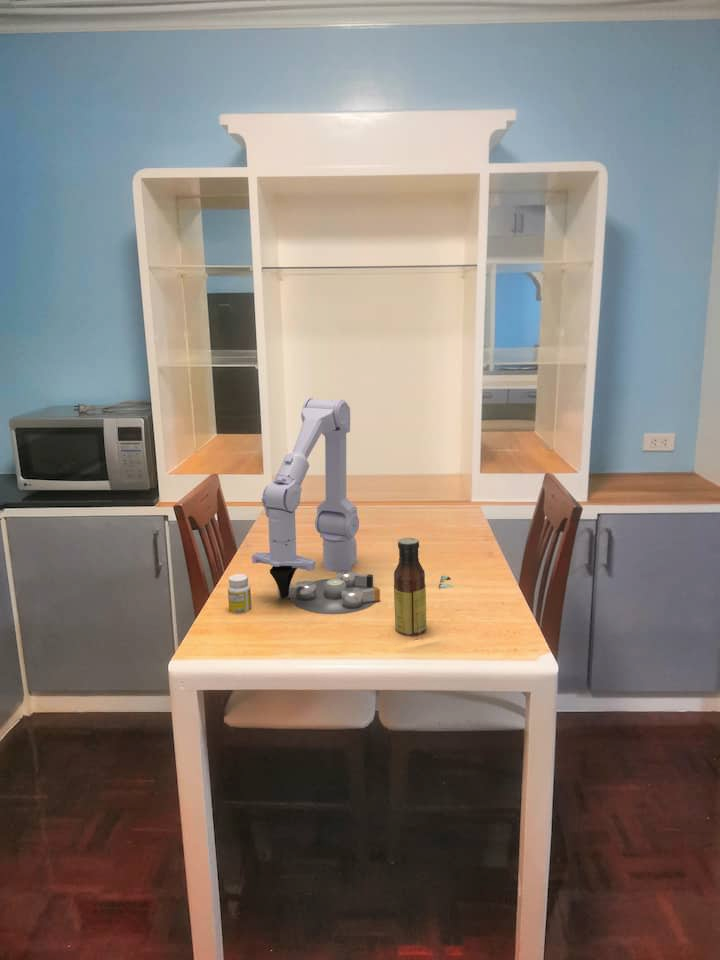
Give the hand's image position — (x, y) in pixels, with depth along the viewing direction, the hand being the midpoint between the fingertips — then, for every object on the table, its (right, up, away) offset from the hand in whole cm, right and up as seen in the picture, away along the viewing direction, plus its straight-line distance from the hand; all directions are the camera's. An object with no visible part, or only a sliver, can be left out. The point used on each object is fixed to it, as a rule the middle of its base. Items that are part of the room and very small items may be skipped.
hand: (284, 597), depth 144 cm
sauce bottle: (+27, -5, -13) cm, 30 cm away
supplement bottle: (-9, -3, -3) cm, 10 cm away
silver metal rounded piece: (+3, 0, +3) cm, 4 cm away
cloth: (+31, +1, +17) cm, 35 cm away
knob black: (+15, +1, +9) cm, 18 cm away
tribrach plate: (+11, -1, +4) cm, 12 cm away
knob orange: (+17, -1, -1) cm, 17 cm away
